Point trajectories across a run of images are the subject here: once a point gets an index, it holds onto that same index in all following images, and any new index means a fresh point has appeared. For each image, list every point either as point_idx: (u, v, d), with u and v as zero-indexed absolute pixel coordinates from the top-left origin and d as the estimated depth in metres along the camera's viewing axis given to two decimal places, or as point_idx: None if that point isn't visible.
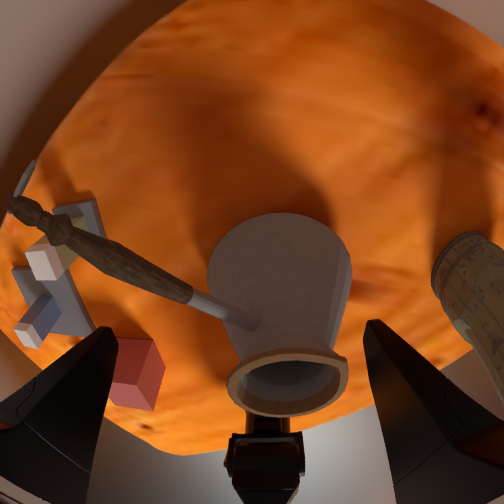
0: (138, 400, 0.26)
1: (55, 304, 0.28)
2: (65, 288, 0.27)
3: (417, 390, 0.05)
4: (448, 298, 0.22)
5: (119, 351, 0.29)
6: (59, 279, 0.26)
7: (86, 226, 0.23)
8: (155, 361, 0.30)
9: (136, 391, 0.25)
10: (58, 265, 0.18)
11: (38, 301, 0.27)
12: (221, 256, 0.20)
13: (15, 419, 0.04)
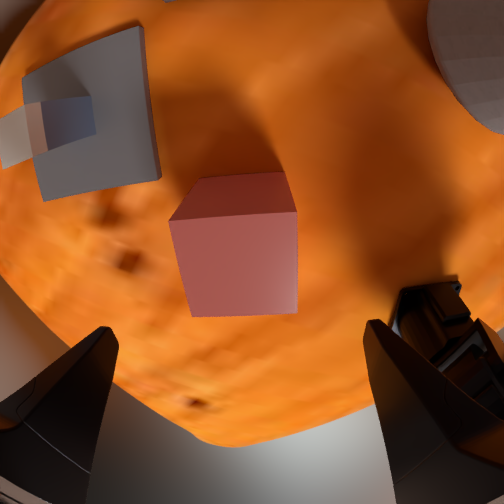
0: (274, 279, 0.13)
1: (90, 110, 0.14)
2: (127, 66, 0.13)
3: (417, 390, 0.05)
4: None
5: (218, 186, 0.15)
6: (121, 50, 0.12)
7: None
8: None
9: (285, 239, 0.12)
10: None
11: None
12: None
13: (16, 419, 0.04)
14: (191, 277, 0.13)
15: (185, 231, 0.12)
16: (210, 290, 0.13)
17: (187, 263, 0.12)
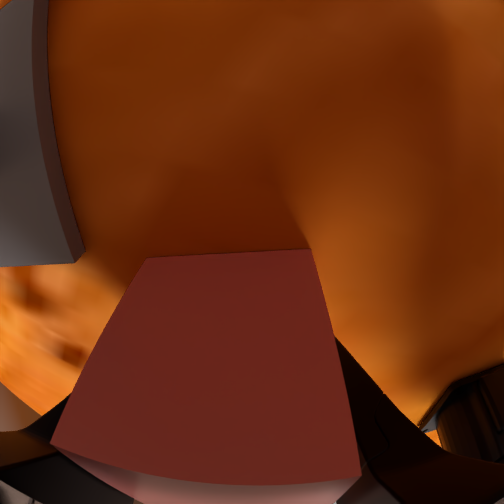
0: None
1: None
2: (13, 55, 0.05)
3: None
4: None
5: (171, 299, 0.07)
6: (8, 30, 0.04)
7: None
8: None
9: (319, 494, 0.04)
10: None
11: None
12: None
13: None
14: (131, 492, 0.05)
15: (89, 464, 0.03)
16: None
17: (116, 485, 0.04)
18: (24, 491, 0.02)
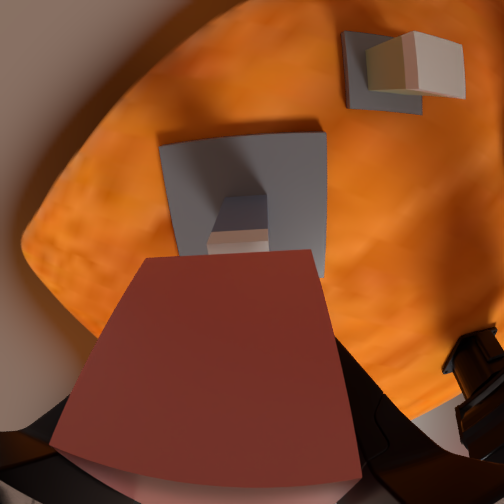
0: None
1: (268, 211, 0.18)
2: (312, 174, 0.17)
3: None
4: None
5: (171, 300, 0.07)
6: (306, 154, 0.16)
7: None
8: None
9: (319, 496, 0.03)
10: None
11: (233, 202, 0.17)
12: None
13: None
14: (130, 493, 0.05)
15: (88, 465, 0.03)
16: None
17: (115, 486, 0.04)
18: (24, 491, 0.02)
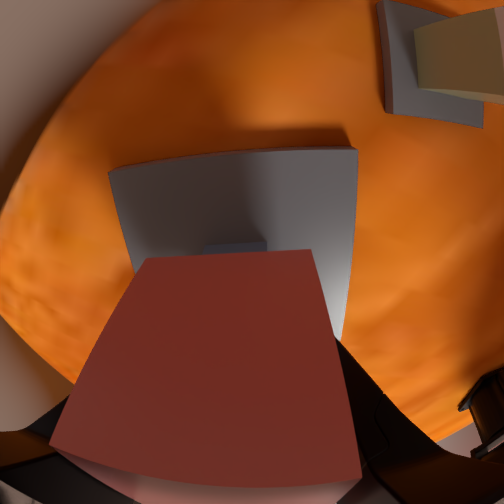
0: None
1: None
2: (334, 211, 0.11)
3: None
4: None
5: (171, 300, 0.07)
6: (327, 183, 0.11)
7: None
8: None
9: (319, 496, 0.03)
10: None
11: None
12: None
13: None
14: (130, 493, 0.05)
15: (88, 465, 0.03)
16: None
17: (115, 486, 0.04)
18: (24, 491, 0.02)
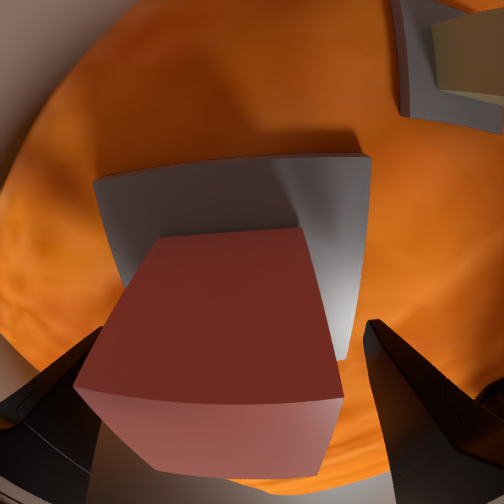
0: (282, 459, 0.06)
1: None
2: (344, 226, 0.10)
3: (417, 390, 0.05)
4: None
5: (182, 268, 0.08)
6: (336, 195, 0.09)
7: None
8: None
9: (311, 429, 0.05)
10: None
11: None
12: None
13: (16, 419, 0.04)
14: (141, 446, 0.06)
15: (107, 405, 0.05)
16: (175, 460, 0.06)
17: (128, 435, 0.06)
18: None
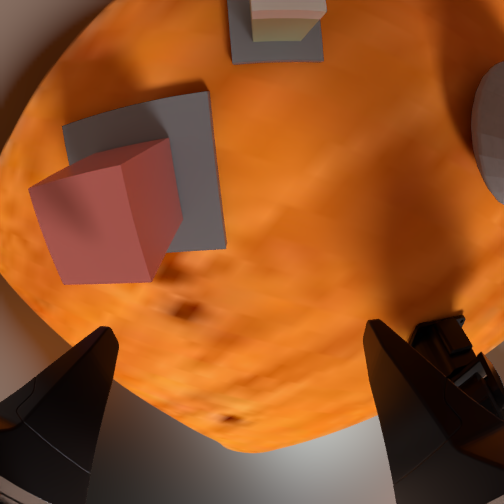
0: (117, 242, 0.11)
1: None
2: (196, 135, 0.15)
3: (417, 390, 0.05)
4: None
5: (96, 157, 0.13)
6: (188, 116, 0.15)
7: None
8: (167, 180, 0.15)
9: (116, 196, 0.10)
10: None
11: None
12: None
13: (15, 419, 0.04)
14: (52, 242, 0.11)
15: (40, 196, 0.10)
16: (69, 255, 0.11)
17: (46, 228, 0.11)
18: None
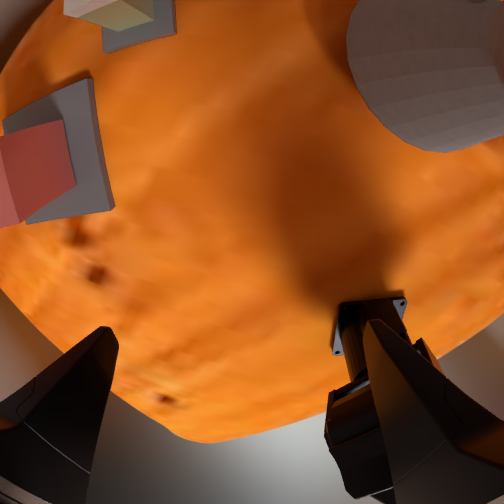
0: (0, 193, 0.11)
1: None
2: (80, 114, 0.16)
3: (417, 390, 0.05)
4: None
5: None
6: (75, 100, 0.15)
7: (151, 1, 0.12)
8: (56, 151, 0.15)
9: None
10: None
11: None
12: None
13: (16, 419, 0.04)
14: None
15: None
16: None
17: None
18: None
